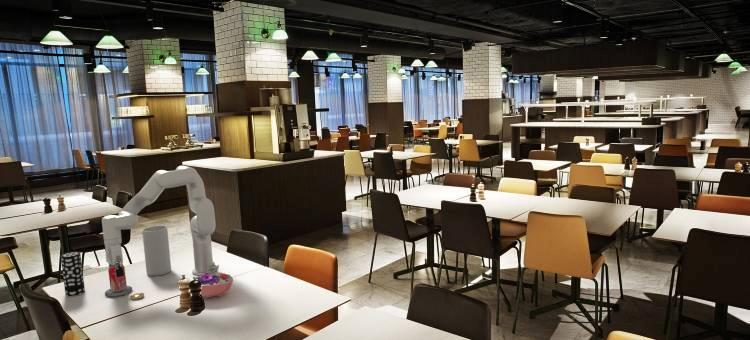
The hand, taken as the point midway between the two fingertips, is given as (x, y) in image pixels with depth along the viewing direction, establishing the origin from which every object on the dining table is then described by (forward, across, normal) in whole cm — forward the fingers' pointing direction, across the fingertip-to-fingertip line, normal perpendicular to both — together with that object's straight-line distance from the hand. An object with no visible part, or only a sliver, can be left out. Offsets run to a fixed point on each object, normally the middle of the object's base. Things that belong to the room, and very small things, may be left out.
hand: (116, 274), depth 237 cm
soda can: (+8, 0, 0) cm, 9 cm away
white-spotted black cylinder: (+10, -17, -14) cm, 24 cm away
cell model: (+10, +41, +28) cm, 51 cm away
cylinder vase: (+10, -14, +26) cm, 31 cm away
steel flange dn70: (+10, 0, 0) cm, 10 cm away
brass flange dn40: (+10, +14, +4) cm, 17 cm away
